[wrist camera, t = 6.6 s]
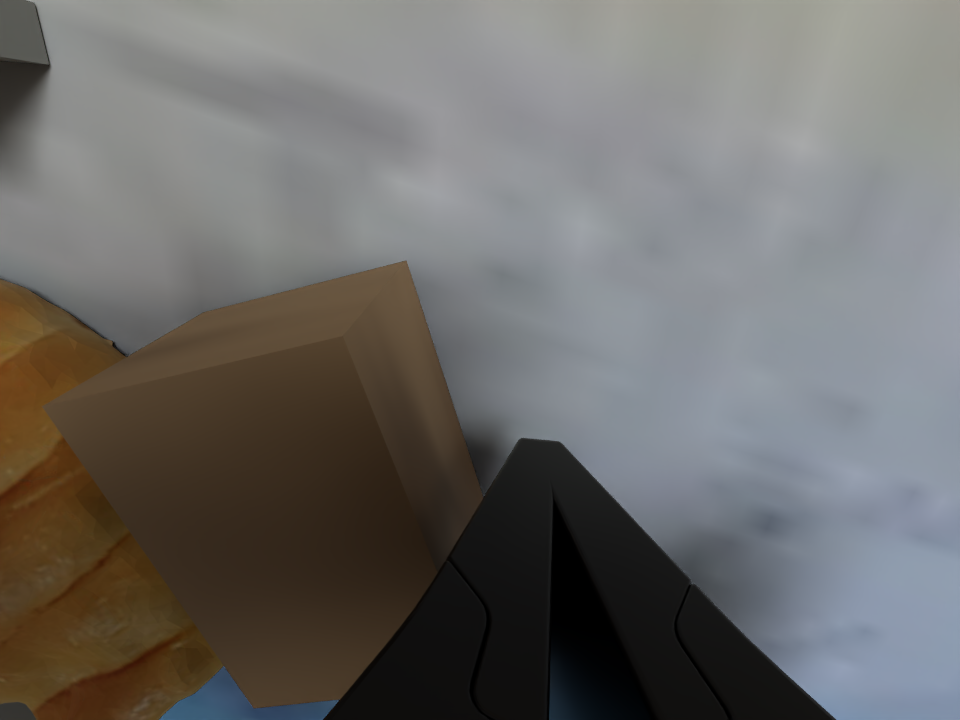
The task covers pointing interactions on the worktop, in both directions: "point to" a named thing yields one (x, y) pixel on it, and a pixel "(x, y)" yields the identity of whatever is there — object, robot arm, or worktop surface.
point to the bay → (17, 38)
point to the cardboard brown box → (286, 474)
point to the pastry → (75, 549)
